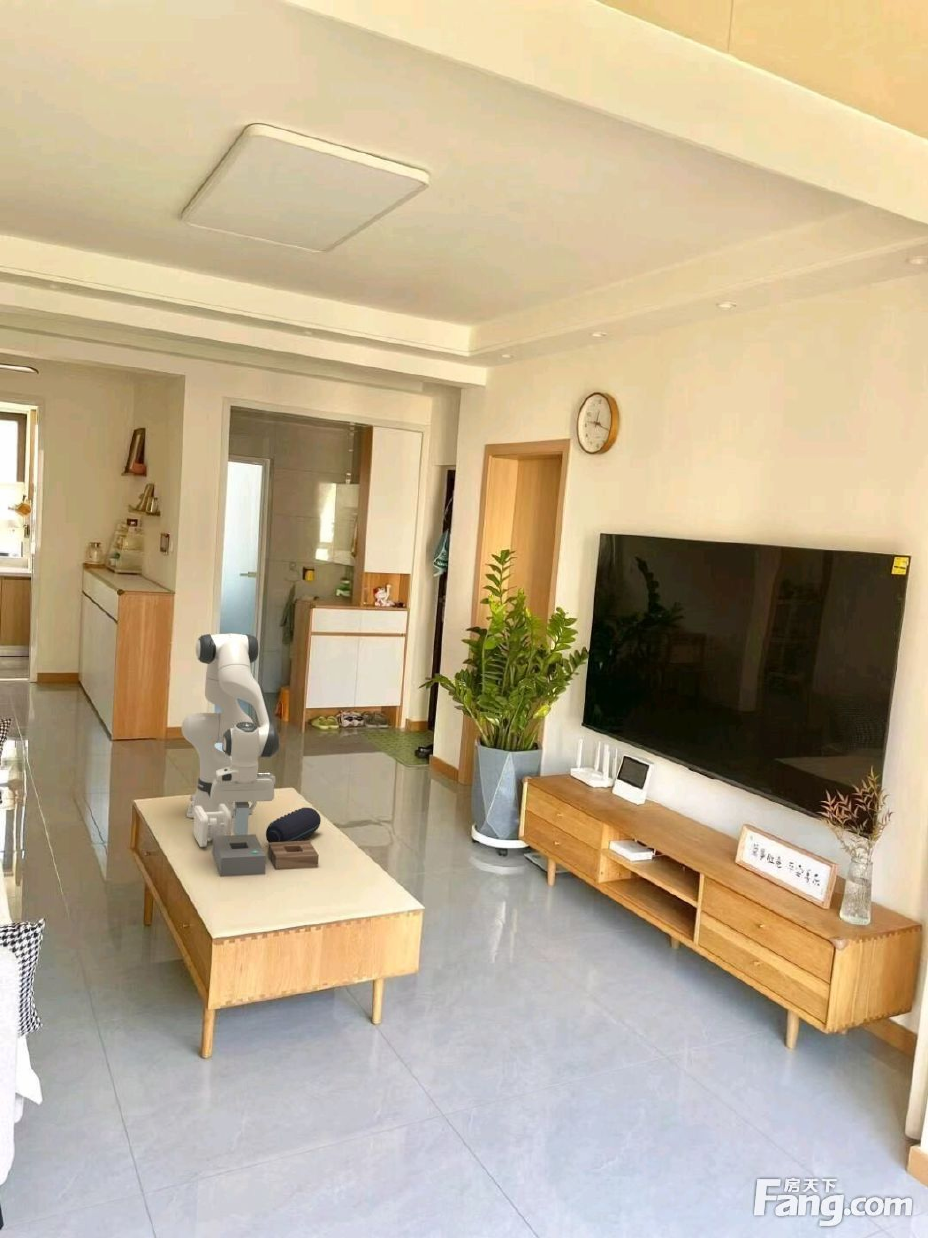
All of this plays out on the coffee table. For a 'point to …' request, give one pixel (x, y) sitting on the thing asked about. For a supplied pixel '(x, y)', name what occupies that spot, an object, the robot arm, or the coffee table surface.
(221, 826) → the cable organizer
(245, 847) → the port box
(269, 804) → the coffee table surface
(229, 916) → the coffee table surface
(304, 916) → the coffee table surface
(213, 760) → the robot arm
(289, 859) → the square wooden frame
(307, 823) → the portable speaker
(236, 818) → the plug
